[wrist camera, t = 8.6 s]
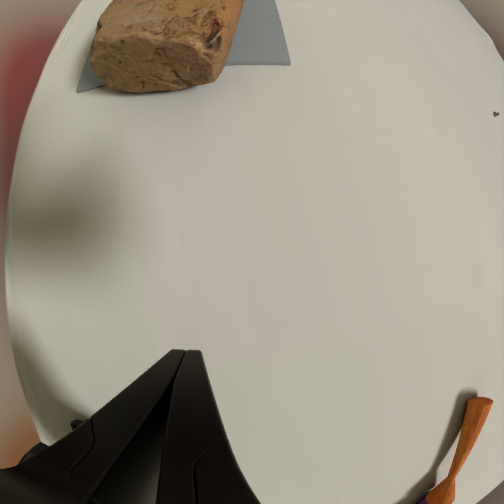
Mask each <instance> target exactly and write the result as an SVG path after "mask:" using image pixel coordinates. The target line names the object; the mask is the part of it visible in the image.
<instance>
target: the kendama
mask: <svg viewBox="0 0 504 504" xmlns="http://www.w3.org/2000/svg"><path fill="white" fill-rule="evenodd" d="M492 404H493V400H491V399H489V398H486V397H474V398H471V399H468V401H467V406H466V412H465V417H464V421H463V426H462V430H461V434H460V438H459V442H458V445H457V449H456V452H455V456H454V459H453V462H452V465H451V468H450V471H449V474H448V477H446V478H445V479H444V480H443V481H442V482H441V483H440V484H438V485H437V486H436V487H435V488H434V489H433V490H431V491H430V492H429V493H428V494H427V495H426V498H424V499H423V500H421V501H420V502H419V503H418V504H452V502H453V501H454V498H455V477H456V475H457V474H458V472H459V471H460V469H461V467H462V466H463V464H464V462H465V460H466V459H467V457H468V455H469V453H470V451H471V449H472V448H473V446H474V444H475V442H476V440H477V438H478V436H479V434H480V431H481V429H482V427H483V425H484V423H485V420H486V418H487V416H488V413H489V411H490V409H491V406H492Z"/></svg>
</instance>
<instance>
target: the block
mask: <svg viewBox="0 0 504 504" xmlns="http://www.w3.org/2000/svg"><path fill="white" fill-rule="evenodd" d="M243 5H244V0H113V1H112V2H111V3H110V4H109V6H108V7H107V9H106V10H105V11H104V12H103V13H102V15H101V16H100V18H99V20H98V23H97V29H96V34H95V37H94V40H93V43H92V46H91V50H90V57H91V61H90V64H91V67H92V68H93V70H94V72H95V73H96V75H97V76H98V77H99V78H100V80H102V81H104V82H105V85H106V86H108V87H109V88H114V89H117V90H120V91H127V92H151V91H167V90H179V89H183V88H186V87H190V86H196V85H203V84H208V83H211V82H214V81H215V80H216V79H217V78H218V76H219V75H220V73H221V71H222V69H223V67H224V65H225V63H226V61H227V58H228V55H229V52H230V49H231V46H232V42H233V38H234V35H235V32H236V28H237V25H238V21H239V18H240V15H241V12H242V8H243Z"/></svg>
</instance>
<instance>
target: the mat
mask: <svg viewBox="0 0 504 504" xmlns="http://www.w3.org/2000/svg"><path fill="white" fill-rule="evenodd" d="M90 61H91V57H90V53H89V56H88V58H87V61H86V64H85V67H84V69H83V72H82V75H81V78H80V81H79V85H78V88H77V92H78V93H80V92H83V91H86V90H89V89H92V88H96V87H99V86H103V85H105V82H104V81H102V80H100V78H99V77H98V76H97V75H96V73H95V72H94V70H93V68H92V67H91V64H90ZM290 63H291V62H290V58H289V53H288V49H287V45H286V41H285V36H284V32H283V29H282V25H281V21H280V17H279V13H278V10H277V6H276V2H275V0H244V5H243V8H242V12H241V15H240V18H239V21H238V25H237V28H236V32H235V35H234V38H233V42H232V46H231V49H230V52H229V55H228V58H227V61H226V63H225V65H253V64H265V65H290Z"/></svg>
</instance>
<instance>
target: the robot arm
mask: <svg viewBox="0 0 504 504" xmlns="http://www.w3.org/2000/svg"><path fill="white" fill-rule="evenodd" d="M71 427H72V430H73V431H72V432H70V433H69V434H68V435H66V436H65V437H63V438H62V439H60V440H59V441H57V442H56V443H54V444H53V445H51V446H47V445H46V444H44V443H42V442H39V443H37V444H36V445H35V446H34V447H32V448H31V449H30V450H29V451H28V452H27V453H26V454H25V455H24V456H23V457H22V459H21V460H20V461H19V463H18V464H17V465H16V466H14V467H10V468H6V469H0V504H261V503H260V502H259V500H258V499H257V497H256V496H255V494H254V492H253V491H252V489H251V488H250V486H249V484H248V483H247V481H246V479H245V477H244V475H243V474H242V472H241V470H240V468H239V466H238V463H237V461H236V459H235V456H234V454H233V451H232V449H231V446H230V443H229V440H228V439H227V435H226V432H225V429H224V426H223V423H222V420H221V417H220V413H219V410H218V407H217V404H216V401H215V397H214V394H213V391H212V387H211V384H210V381H209V377H208V374H207V370H206V366H205V363H204V359H203V355H202V352H201V351H200V350H187V351H186V350H181V349H172V350H170V351H169V352H168V353H167V354H166V355H165V356H163V357H162V358H161V359H160V360H159V361H157V362H156V363H155V364H154V365H153V366H152V367H150V368H149V369H148V370H147V371H146V372H144V373H143V374H142V375H141V376H140V377H138V378H137V379H136V380H135V381H134V382H132V383H131V384H130V385H129V386H128V387H126V388H125V389H124V390H123V391H122V392H120V393H119V394H118V395H117V396H116V397H114V398H113V399H112V400H111V401H109V402H108V403H107V404H106V405H105V406H103V407H102V408H101V409H100V410H98V411H97V412H96V413H95V414H94V415H92V416H91V419H87V420H86V421H85V422H82V421H78V420H73V421H72V422H71Z"/></svg>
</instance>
